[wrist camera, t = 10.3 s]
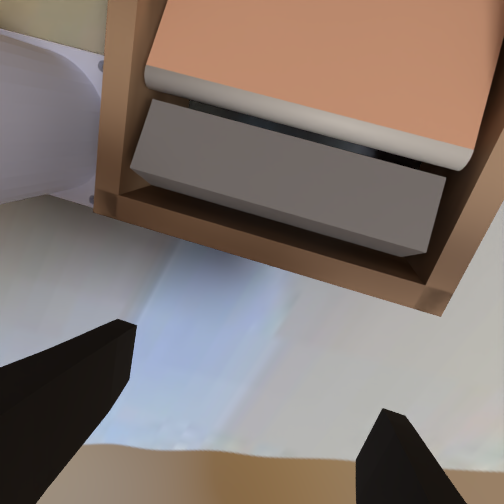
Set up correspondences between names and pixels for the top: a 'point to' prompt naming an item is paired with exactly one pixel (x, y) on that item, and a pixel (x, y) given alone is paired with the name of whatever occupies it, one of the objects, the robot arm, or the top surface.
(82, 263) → the top surface
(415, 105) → the trapdoor
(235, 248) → the trapdoor box
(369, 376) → the top surface
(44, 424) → the robot arm
